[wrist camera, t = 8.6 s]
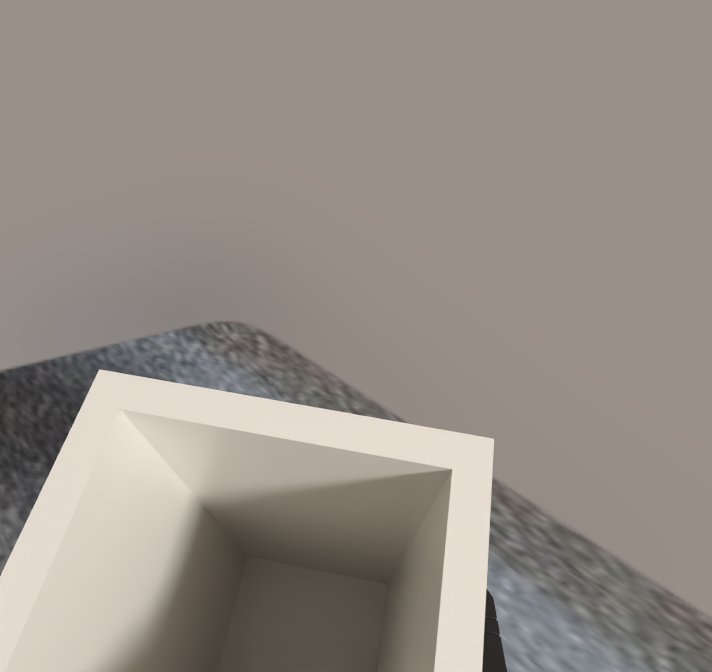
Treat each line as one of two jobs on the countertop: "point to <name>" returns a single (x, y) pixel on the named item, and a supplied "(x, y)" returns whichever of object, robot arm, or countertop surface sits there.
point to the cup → (249, 540)
